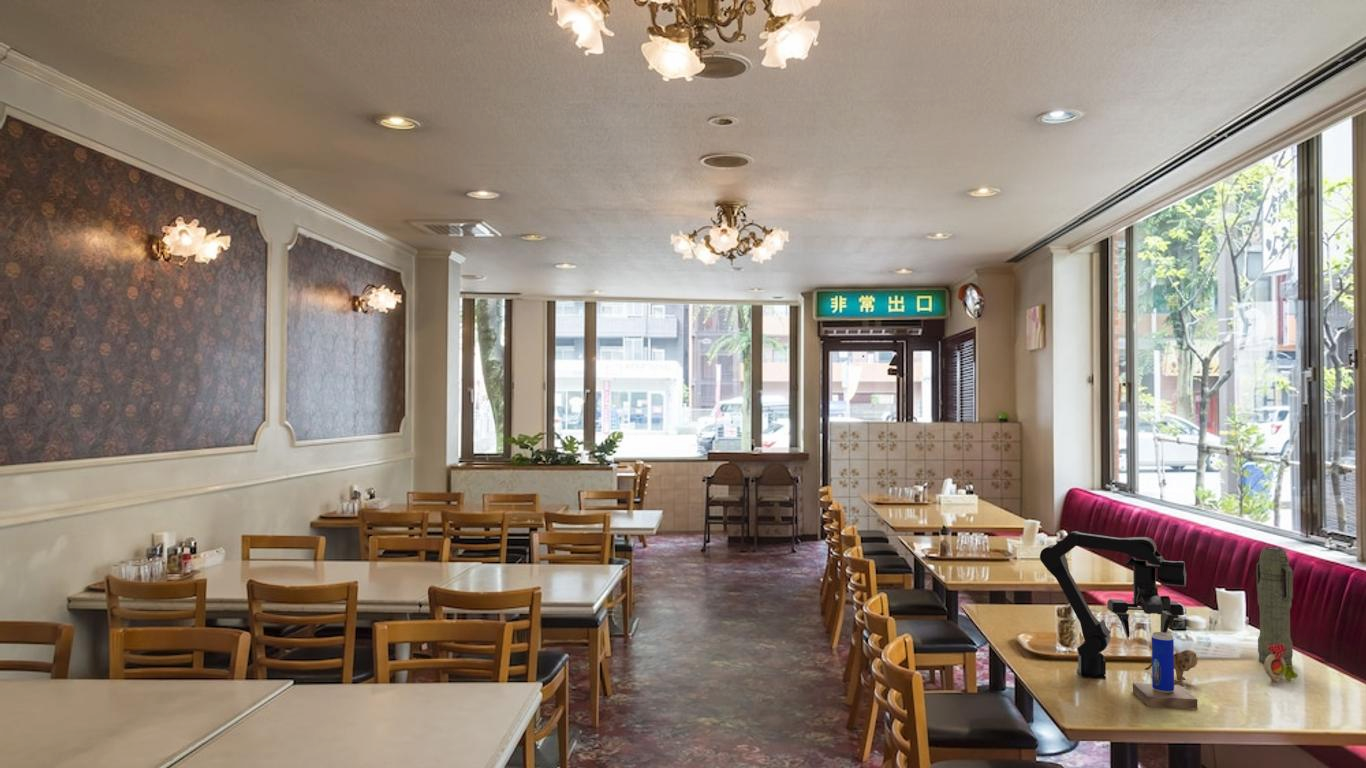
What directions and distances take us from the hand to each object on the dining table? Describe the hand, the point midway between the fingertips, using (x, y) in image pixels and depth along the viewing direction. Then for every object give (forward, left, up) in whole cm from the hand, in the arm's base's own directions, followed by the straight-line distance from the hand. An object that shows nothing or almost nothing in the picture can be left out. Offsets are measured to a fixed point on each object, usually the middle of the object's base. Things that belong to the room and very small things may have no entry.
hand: (1145, 637), depth 255 cm
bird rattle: (+39, +10, -13) cm, 42 cm away
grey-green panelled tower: (+47, +30, -13) cm, 57 cm away
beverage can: (0, -14, -11) cm, 18 cm away
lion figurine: (+10, +8, -13) cm, 18 cm away
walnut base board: (0, -15, -13) cm, 19 cm away
